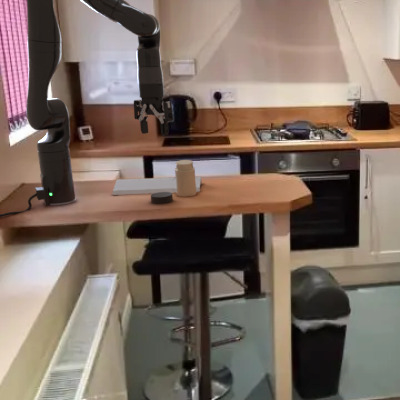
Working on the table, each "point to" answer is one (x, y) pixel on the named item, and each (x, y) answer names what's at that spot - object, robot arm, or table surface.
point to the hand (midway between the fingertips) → (154, 134)
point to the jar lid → (161, 198)
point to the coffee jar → (185, 178)
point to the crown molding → (149, 186)
